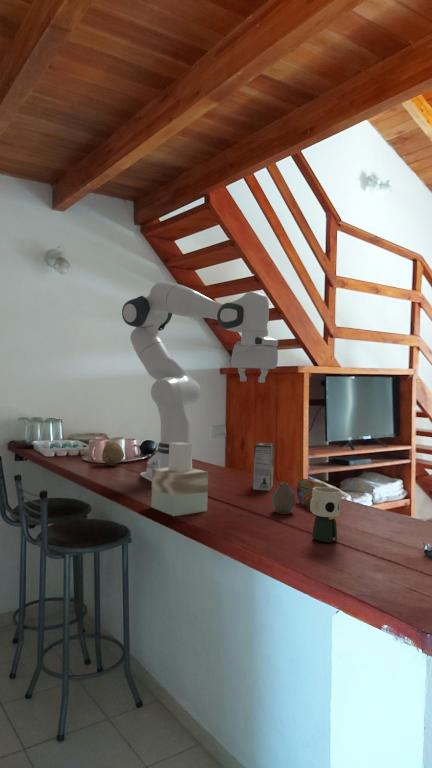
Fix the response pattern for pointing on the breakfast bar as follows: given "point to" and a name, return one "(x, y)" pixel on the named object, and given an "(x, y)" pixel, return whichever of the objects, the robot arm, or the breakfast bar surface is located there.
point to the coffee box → (263, 466)
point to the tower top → (179, 481)
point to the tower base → (179, 503)
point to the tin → (307, 490)
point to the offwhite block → (179, 457)
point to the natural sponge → (112, 453)
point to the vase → (283, 499)
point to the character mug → (325, 512)
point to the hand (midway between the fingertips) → (252, 381)
